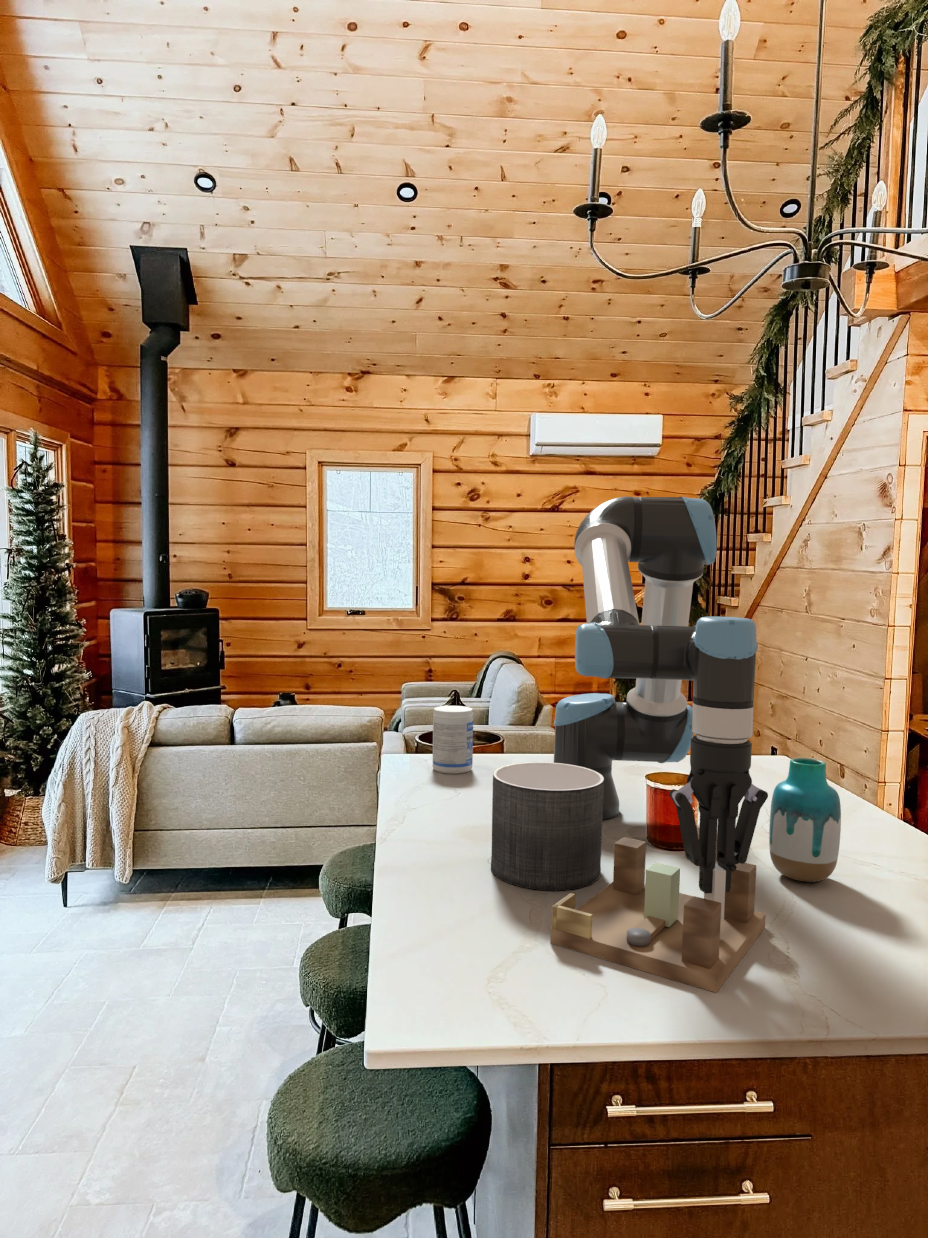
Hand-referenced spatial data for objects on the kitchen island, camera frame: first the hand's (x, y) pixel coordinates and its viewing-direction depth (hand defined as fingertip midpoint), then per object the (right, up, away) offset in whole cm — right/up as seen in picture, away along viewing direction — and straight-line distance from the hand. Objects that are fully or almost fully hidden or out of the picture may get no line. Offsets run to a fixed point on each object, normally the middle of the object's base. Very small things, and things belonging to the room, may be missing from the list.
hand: (713, 915), depth 112 cm
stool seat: (-6, -4, +4) cm, 8 cm away
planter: (-19, -2, +27) cm, 34 cm away
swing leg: (-8, -2, +1) cm, 8 cm away
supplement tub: (-35, +3, +92) cm, 98 cm away
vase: (+22, -3, +27) cm, 35 cm away
